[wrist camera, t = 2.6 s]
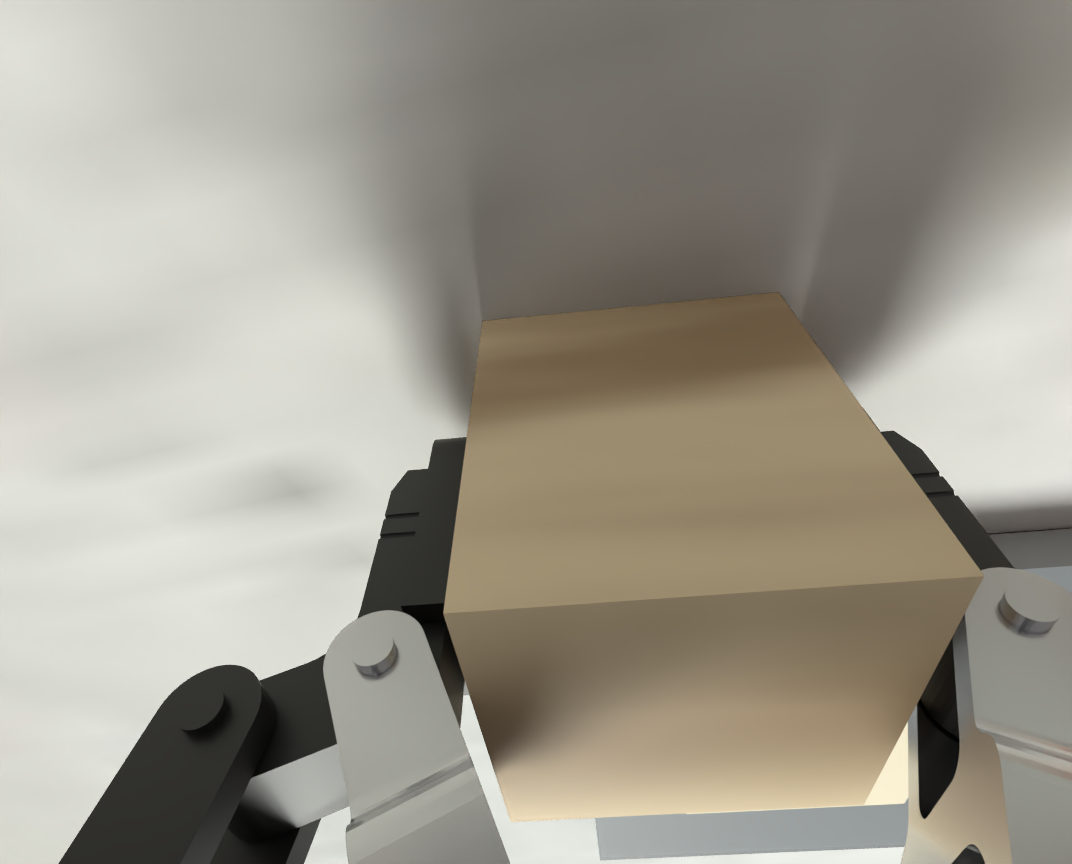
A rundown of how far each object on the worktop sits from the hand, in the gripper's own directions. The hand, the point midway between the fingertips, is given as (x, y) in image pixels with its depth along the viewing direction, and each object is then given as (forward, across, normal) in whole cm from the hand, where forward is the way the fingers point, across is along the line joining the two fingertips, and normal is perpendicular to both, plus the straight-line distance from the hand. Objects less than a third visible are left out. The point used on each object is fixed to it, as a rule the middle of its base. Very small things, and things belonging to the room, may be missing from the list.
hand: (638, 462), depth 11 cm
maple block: (+1, 0, 0) cm, 1 cm away
